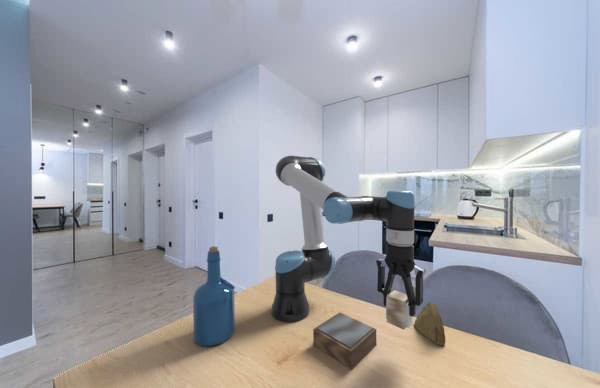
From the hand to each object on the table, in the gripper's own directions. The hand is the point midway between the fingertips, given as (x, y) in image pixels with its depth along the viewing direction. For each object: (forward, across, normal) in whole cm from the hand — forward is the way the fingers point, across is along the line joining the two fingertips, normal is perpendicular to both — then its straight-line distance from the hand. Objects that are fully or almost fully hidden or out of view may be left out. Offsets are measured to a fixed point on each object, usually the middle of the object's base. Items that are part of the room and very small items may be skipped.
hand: (398, 321), depth 67 cm
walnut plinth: (+10, -13, -8) cm, 19 cm away
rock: (+10, +4, +16) cm, 19 cm away
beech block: (0, 0, 0) cm, 0 cm away
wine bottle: (+11, -47, -35) cm, 60 cm away
